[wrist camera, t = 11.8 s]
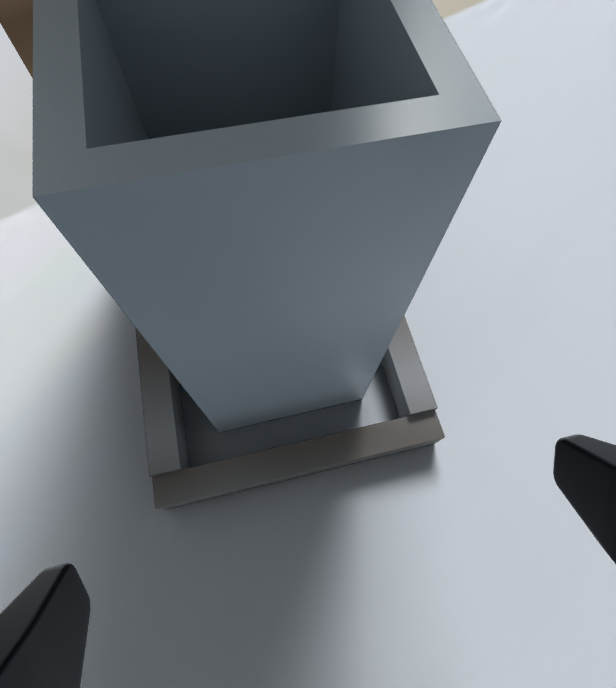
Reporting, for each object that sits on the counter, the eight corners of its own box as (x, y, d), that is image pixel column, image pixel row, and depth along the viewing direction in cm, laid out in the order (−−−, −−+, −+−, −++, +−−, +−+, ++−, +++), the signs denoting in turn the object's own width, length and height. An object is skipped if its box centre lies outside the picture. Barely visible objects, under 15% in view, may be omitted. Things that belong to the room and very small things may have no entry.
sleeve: (362, 398, 17) (501, 120, 5) (219, 432, 16) (32, 197, 5) (325, 278, 19) (370, -106, 8) (197, 303, 18) (32, -76, 7)
